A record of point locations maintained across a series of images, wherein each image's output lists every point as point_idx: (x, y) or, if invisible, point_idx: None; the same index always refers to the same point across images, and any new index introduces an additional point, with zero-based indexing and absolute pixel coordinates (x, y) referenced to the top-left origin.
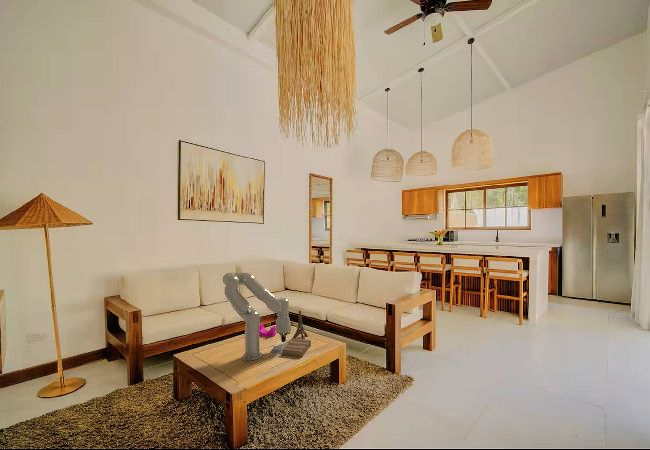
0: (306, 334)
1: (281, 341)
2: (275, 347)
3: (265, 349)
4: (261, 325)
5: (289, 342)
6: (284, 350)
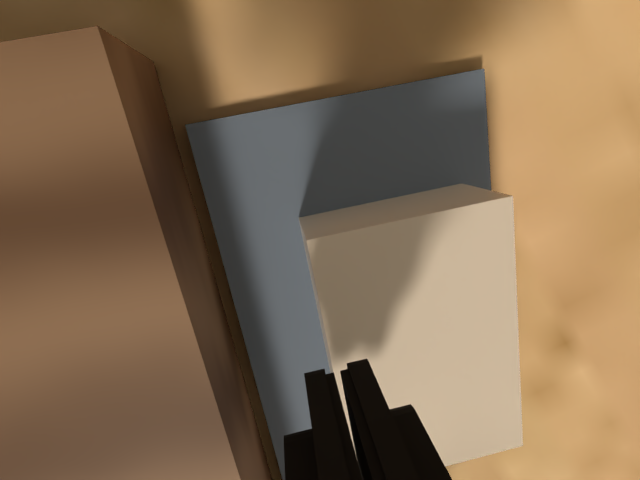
0: None
1: (446, 444)
2: (440, 199)
3: (608, 149)
4: None
5: (229, 473)
6: (47, 46)
